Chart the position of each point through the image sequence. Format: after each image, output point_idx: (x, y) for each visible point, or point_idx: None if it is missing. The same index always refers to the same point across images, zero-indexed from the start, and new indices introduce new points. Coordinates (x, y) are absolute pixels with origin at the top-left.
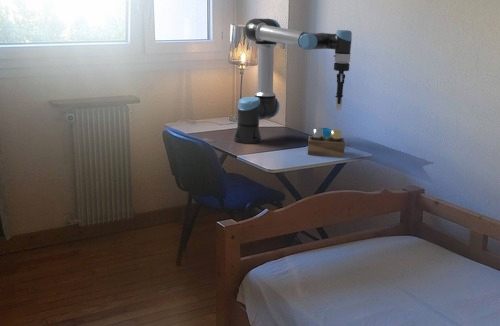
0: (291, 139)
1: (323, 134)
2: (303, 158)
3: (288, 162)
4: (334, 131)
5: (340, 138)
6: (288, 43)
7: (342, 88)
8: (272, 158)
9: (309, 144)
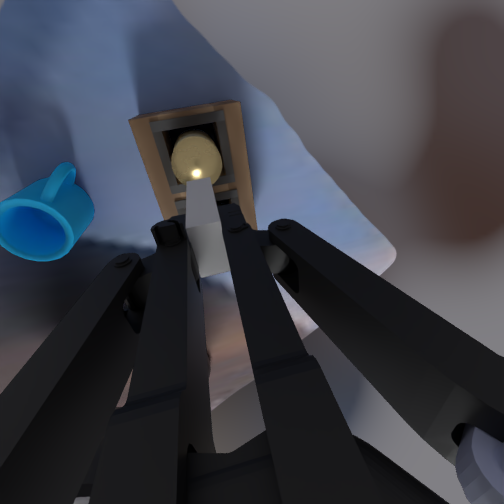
0: None
1: (78, 222)
2: (296, 220)
3: (342, 242)
4: (221, 168)
5: (161, 134)
6: None
7: (373, 278)
8: None
9: None
